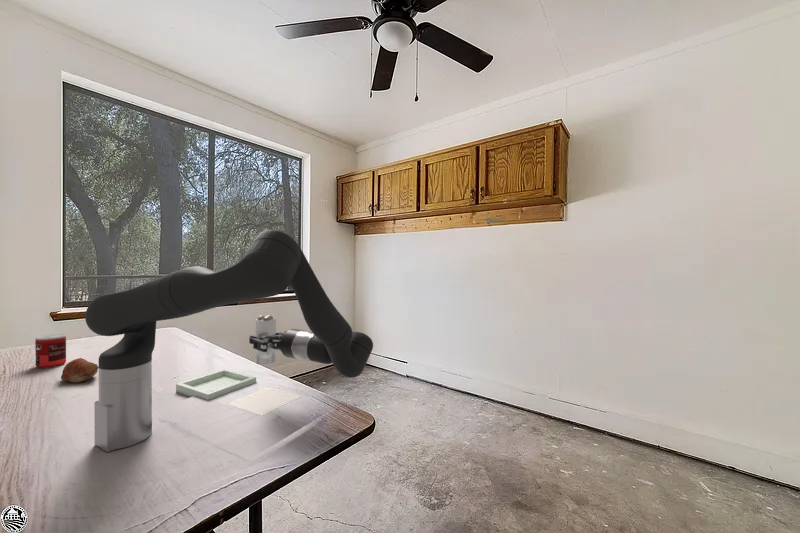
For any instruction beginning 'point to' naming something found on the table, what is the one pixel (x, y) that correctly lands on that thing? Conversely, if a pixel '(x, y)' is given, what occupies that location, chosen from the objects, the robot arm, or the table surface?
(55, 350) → the canned food
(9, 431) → the table surface
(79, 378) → the bread roll
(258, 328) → the cup
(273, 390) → the board
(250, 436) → the table surface
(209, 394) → the tray
